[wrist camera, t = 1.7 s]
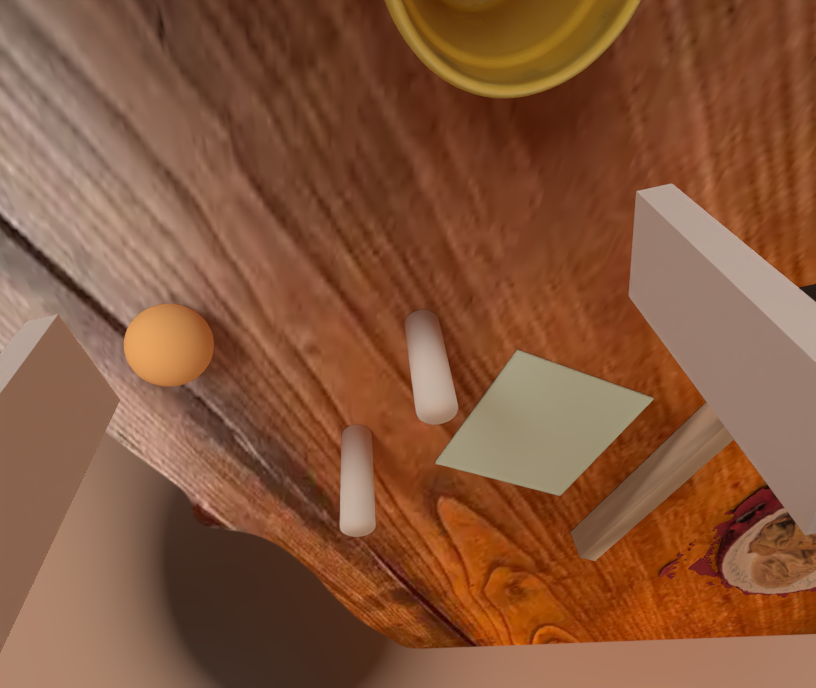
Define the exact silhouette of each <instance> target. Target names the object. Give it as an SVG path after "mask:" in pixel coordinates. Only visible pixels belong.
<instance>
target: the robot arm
mask: <svg viewBox="0 0 816 688" xmlns="http://www.w3.org/2000/svg"><path fill="white" fill-rule="evenodd" d="M629 297H630V299H631V300H632V301H633V303H634V304H635V305H636V307H637V308H638V310H639V311H640V312H641V314H642V315H643V316H644V318H645V319H646V320H647V322H648V323H649V324H650V326H651V327H652V329H653V330H654V331H655V333H656V334H657V335H658V337H659V338H660V339H661V341H662V342H663V343H664V345H665V346H666V348H667V349H668V350H669V352H670V353H671V354H672V356H673V357H674V358H675V360H676V361H677V362H678V364H679V365H680V367H681V368H682V369H683V371H684V372H685V373H686V375H687V376H688V377H689V379H690V380H691V381H692V383H693V384H694V386H695V387H696V388H697V390H698V391H699V392H700V394H701V395H702V396H703V398H704V399H705V400H706V402H707V403H708V405H709V406H710V407H711V409H712V410H713V411H714V413H715V414H716V415H717V417H718V418H719V419H720V421H721V422H722V423H723V425H724V426H725V428H726V429H727V430H728V432H729V433H730V434H731V436H732V437H733V438H734V440H735V441H736V442H737V444H738V445H739V447H740V448H741V449H742V451H743V452H744V453H745V455H746V456H747V457H748V459H749V460H750V461H751V463H752V464H753V466H754V467H755V468H756V470H757V471H758V472H759V474H760V475H761V476H762V478H763V479H764V480H765V482H766V483H767V485H768V486H769V487H770V489H771V490H772V491H773V493H774V494H775V495H776V497H777V498H778V499H779V501H780V502H781V504H782V505H783V506H784V508H785V509H786V510H787V512H788V513H789V514H790V516H791V517H792V518H793V520H794V521H795V523H796V524H797V525H798V527H799V528H800V529H801V531H802V532H803V533H804V535H809V534H815V533H816V284H814V285H809V286H804V287H799V288H798V287H797V286H796V285H795V284H793V283H792V282H791V281H790V280H788V279H787V278H786V277H785V276H784V275H782V274H781V273H780V272H779V271H778V270H776V269H775V268H774V267H773V266H771V265H770V264H769V263H768V262H767V261H765V260H764V259H763V258H762V257H761V256H759V255H758V254H757V253H756V252H755V251H753V250H752V249H751V248H750V247H748V246H747V245H746V244H745V243H744V242H742V241H741V240H740V239H739V238H738V237H736V236H735V235H734V234H733V233H731V232H730V231H729V230H728V229H727V228H725V227H724V226H723V225H722V224H721V223H719V222H718V221H717V220H716V219H715V218H713V217H712V216H711V215H710V214H708V213H707V212H706V211H705V210H704V209H702V208H701V207H700V206H699V205H698V204H696V203H695V202H694V201H693V200H691V199H690V198H689V197H688V196H687V195H685V194H684V193H683V192H682V191H681V190H679V189H678V188H677V187H676V186H675V185H673V184H667V185H662V186H658V187H653V188H648V189H644V190H639V191H636V202H635V216H634V230H633V243H632V257H631V271H630V284H629ZM119 401H120V399H119V398H118V396H117V395H116V394H115V392H114V391H113V390H112V388H111V387H110V385H109V384H108V383H107V381H106V380H105V378H104V377H103V376H102V374H101V373H100V372H99V370H98V369H97V367H96V366H95V365H94V363H93V362H92V361H91V359H90V358H89V356H88V355H87V354H86V352H85V351H84V350H83V348H82V347H81V345H80V344H79V343H78V341H77V340H76V339H75V337H74V336H73V334H72V333H71V332H70V330H69V329H68V327H67V326H66V325H65V323H64V322H63V321H62V319H61V318H60V316H59V315H53V316H48V317H44V318H39V319H34V320H30V321H26V322H25V323H24V325H23V326H22V327H21V328H20V330H19V331H18V332H17V333H16V335H15V336H14V337H13V338H12V340H11V341H10V342H9V343H8V345H7V346H6V347H5V348H4V350H3V351H2V352H1V353H0V652H1V650H2V648H3V646H4V644H5V641H6V639H7V637H8V635H9V633H10V631H11V629H12V627H13V624H14V622H15V620H16V618H17V616H18V614H19V612H20V610H21V608H22V606H23V603H24V601H25V599H26V597H27V595H28V593H29V590H30V589H31V587H32V584H33V582H34V580H35V578H36V576H37V574H38V572H39V570H40V568H41V566H42V563H43V561H44V559H45V557H46V555H47V553H48V551H49V549H50V547H51V544H52V542H53V540H54V538H55V536H56V534H57V532H58V530H59V527H60V525H61V523H62V521H63V519H64V517H65V515H66V513H67V511H68V509H69V506H70V504H71V502H72V500H73V498H74V496H75V494H76V492H77V490H78V487H79V485H80V483H81V481H82V479H83V477H84V475H85V473H86V471H87V469H88V466H89V464H90V462H91V460H92V458H93V456H94V454H95V452H96V449H97V447H98V445H99V443H100V441H101V439H102V437H103V435H104V433H105V431H106V428H107V426H108V424H109V422H110V420H111V418H112V416H113V414H114V412H115V409H116V407H117V405H118V403H119Z"/></svg>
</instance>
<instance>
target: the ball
mask: <svg viewBox="0 0 816 688" xmlns="http://www.w3.org/2000/svg"><path fill="white" fill-rule="evenodd" d="M213 351H214V338H213V335H212V331H211V329H210V327H209V325H208V324H207V322H206V321H205V320H204V318H203V317H201V316H200V315H199V314H198V313H197V312H195V311H194V310H192V309H190V308H188V307H185V306H182V305H178V304H160V305H156V306H153V307H150V308H148V309H146V310H144V311H143V312H141V313H140V314H139V315H138V316H136V317H135V318H134V320H133V321H132V322H131V324H130V325H129V327H128V329H127V331H126V334H125V339H124V352H125V356H126V359H127V361H128V363H129V365H130V367H131V368H132V369H133V371H134V372H135V373H136V374H137V375H139V376H140V377H141V378H142V379H144V380H146V381H148V382H150V383H152V384H155V385H159V386H179V385H182V384H186V383H188V382H190V381H192V380H194V379H195V378H197V377H198V376H199V375H201V374H202V373H203V372H204V371H205V369H206V368H207V366H208V365H209V363H210V361H211V359H212V356H213Z"/></svg>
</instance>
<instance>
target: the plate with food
mask: <svg viewBox="0 0 816 688" xmlns="http://www.w3.org/2000/svg"><path fill="white" fill-rule="evenodd" d="M732 513H733V514H734V515H735V516H734V517H733V518H732V520H730V521H727V522H724V523H722V524H719V525H717V526H716V527H714V529H718V531H717V534H716V535H715V536H714V537H713V539H715V540H716V537H718V536H719V535H720V534H721V537H722V538H721V539H723V540H721V543H720V549H719V550H718V551H719V552H718V555H717V556H716V557H715V559H716V561H717V562H716V564H717V566H719V571H718V572H715V571H714V570H713V569H712V567H711V565H709V564H712V563H711V562H710V560H711V559H709V561H708V560H707V559H708V558H709V557H708V558H707V557H706V556H709V555H712V553H713V550H712V549H714V547H713V544H716V543H717V544H719V541H720V539H718V540H716V541H715V542H714V543H713V544H711V546H712V547H710V549H709V550H708V551H707V553H706V554H707V555H705V556H704V558H706V559H704V558H700V559H699V560H698V561H697V562H695V563H694V564H692V565H691V566H690V567H689V569H690V570H695V571H696V572H697V573H698V574H699V575H709V576H712V577H716V576H717V577H720V578H721V579H722V580H723V581H721V584H722V585H725V586H724V587H726V588H732V586H736V588H738V589H739V590H742V592H743V594H745V595H750V594H763V595H768V596H769V595H771V594H775V593H776V594H777V595H778V596H779V595H781V596H782V597H784V598H785V597H786V595H787V594H788V593H793V592H794V593H795V592H799V591H803V590H807V591H808V590H811V591H812V592H814V591H816V533H815V534H809V535H804V533H803V532H802V531H801V529H800V528H799V527H798V525H797V524H796V523H795V521H794V520H793V518H792V517H791V516H790V514H789V513H788V512H787V510H786V509H785V508H784V506H783V505H782V504H781V502H780V501H779V499H778V498H777V497H776V495H775V494H774V493H773V491H772V490H771V489H770V488H769V489H765V488H761V490H759V492H756V494H754V495H753V496H751V497H749V498H748V499H747V500H746V501H745V502H744V503H743V504H741V505H740V506H739V507H738V508H737V509H736V511H735V512H732V510H730V511H728V512H727V513H725V514H727V515H729V514H732ZM714 529H713V531H714ZM694 542H695V541H694ZM689 545H691V546H694V545H693V544H692V543H691V544H689ZM688 550H689V551H690V550H691V548H688ZM711 552H712V553H711ZM683 555H684V554H680V552H679V555H678V558H680V557H682V556H683ZM677 560H678V559H677ZM677 560H676V561H677ZM685 560H687V559H685ZM676 561H674V562H673V563H671V564H669V565H668V566H670V565H671V567H673V566H672V565H674V564H678V563H679V562H676ZM707 563H708V564H707ZM668 566H666V567H665V568H664V569H663V570H662V572H661V573H660V577H662V576H664V575H665V574H666V573H667V572H668V571H670V570H671V569H670V568H671V567H669V568H667V567H668ZM675 568H677V567H674V568H672V569H675ZM674 574H675V573H669V574H668V575H667V576H668V577H669V578H670V579H672V578H673V577H675V576H673V577H672V576H671V575H674ZM707 584H709V585H715V584H712V583H711V582H708V583H707Z"/></svg>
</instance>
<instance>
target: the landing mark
mask: <svg viewBox="0 0 816 688" xmlns="http://www.w3.org/2000/svg"><path fill="white" fill-rule="evenodd" d="M653 400H654V399H653V397H650V396H647V395H644V394H641V393H639V392H636V391H633V390H630V389H627V388H625V387H622V386H619V385H616V384H613V383H610V382H608V381H605V380H602V379H599V378H596V377H594V376H591V375H588V374H585V373H582V372H579V371H577V370H574V369H571V368H568V367H565V366H563V365H560V364H557V363H554V362H551V361H548V360H546V359H543V358H540V357H537V356H534V355H532V354H529V353H526V352H523V351H520V350H517V351H516V352H515V353H514V355H513V356H512V357H511V359H510V360H509V362H508V363H507V364H506V366H505V367H504V368H503V370H502V371H501V373H500V374H499V375H498V377H497V378H496V379H495V381H494V382H493V383H492V385H491V386H490V388H489V389H488V390H487V392H486V393H485V394H484V396H483V397H482V399H481V400H480V401H479V403H478V404H477V405H476V407H475V408H474V410H473V411H472V412H471V414H470V415H469V416H468V418H467V419H466V420H465V422H464V423H463V425H462V426H461V427H460V429H459V430H458V431H457V433H456V434H455V436H454V437H453V438H452V440H451V441H450V442H449V444H448V445H447V447H446V448H445V449H444V451H443V452H442V453H441V455H440V456H439V457H438V459H437V460H436V462H435V464H439V465H443V466H447V467H450V468H454V469H458V470H462V471H466V472H470V473H474V474H477V475H481V476H485V477H489V478H493V479H497V480H500V481H504V482H508V483H512V484H516V485H520V486H524V487H527V488H531V489H535V490H539V491H543V492H547V493H550V494H554V495H558V496H561V495H562V494H563V493H564V491H565V490H566V489H567V488H568V487H569V486H570V485H571V484H572V483H573V482H574V481H575V480H576V479H577V478H578V477H579V476H580V475H581V474H582V473H583V472H584V471H585V470H586V469H587V468H588V467H589V466H590V465H591V464H592V463H593V462H594V460H595V459H596V458H597V457H598V456H599V455H600V454H601V453H602V452H603V451H604V450H605V449H606V448H607V447H608V446H609V445H610V444H611V443H612V442H613V441H614V440H615V439H616V438H617V437H618V436H619V435H620V434H621V433H622V432H623V431H624V429H625V428H626V427H627V426H628V425H629V424H630V423H631V422H632V421H633V420H634V419H635V418H636V417H637V416H638V415H639V414H640V413H641V412H642V411H643V410H644V409H645V408H646V407H647V406H648V405H649V404H650V403H651V402H652V401H653Z"/></svg>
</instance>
